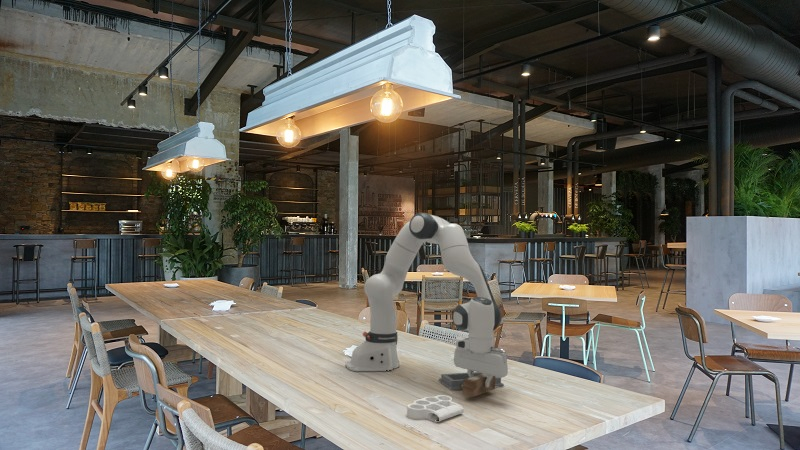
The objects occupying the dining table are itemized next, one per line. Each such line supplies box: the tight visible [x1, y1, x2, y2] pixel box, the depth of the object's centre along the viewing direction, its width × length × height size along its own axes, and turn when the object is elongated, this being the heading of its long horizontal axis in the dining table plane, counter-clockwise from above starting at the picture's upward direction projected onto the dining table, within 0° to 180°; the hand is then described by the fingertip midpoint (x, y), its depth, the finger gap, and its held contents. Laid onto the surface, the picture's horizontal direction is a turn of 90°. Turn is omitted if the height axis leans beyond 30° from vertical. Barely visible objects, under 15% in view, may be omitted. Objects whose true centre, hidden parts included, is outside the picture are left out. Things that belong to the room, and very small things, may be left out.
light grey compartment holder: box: [406, 394, 465, 423], centre depth 158 cm, size 3×18×15 cm
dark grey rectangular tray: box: [438, 371, 505, 391], centre depth 190 cm, size 21×12×3 cm, turn 108°
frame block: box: [462, 373, 496, 398], centre depth 176 cm, size 14×4×5 cm, turn 138°
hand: (479, 384), depth 176 cm, fingers closed on frame block, 4 cm apart
